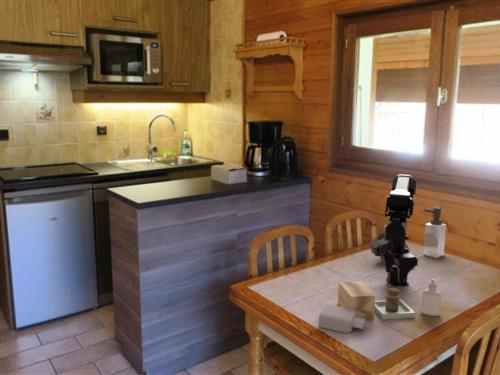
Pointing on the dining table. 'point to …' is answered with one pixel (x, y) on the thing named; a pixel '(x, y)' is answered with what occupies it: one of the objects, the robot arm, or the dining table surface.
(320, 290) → the dining table surface
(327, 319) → the grey plastic bottle
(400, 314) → the green tray
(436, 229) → the soap dispenser
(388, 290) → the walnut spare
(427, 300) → the eye dropper bottle
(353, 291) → the pine unit
